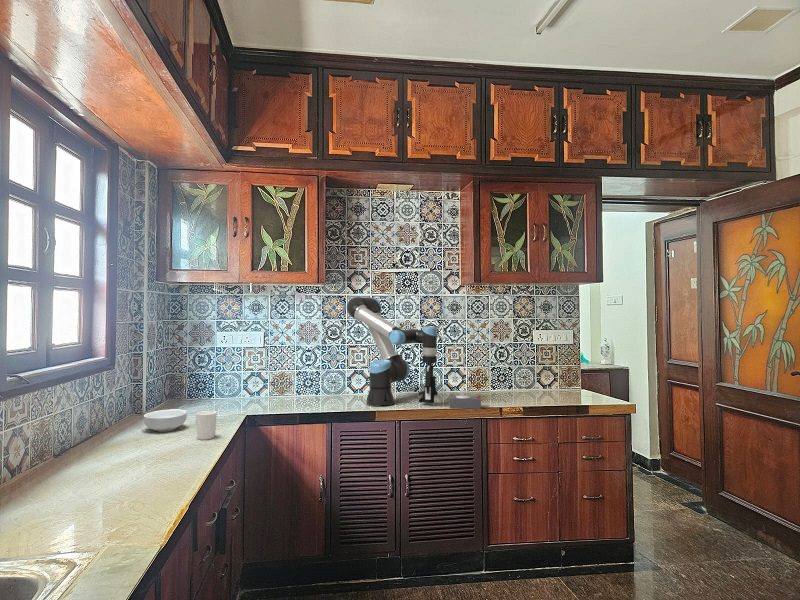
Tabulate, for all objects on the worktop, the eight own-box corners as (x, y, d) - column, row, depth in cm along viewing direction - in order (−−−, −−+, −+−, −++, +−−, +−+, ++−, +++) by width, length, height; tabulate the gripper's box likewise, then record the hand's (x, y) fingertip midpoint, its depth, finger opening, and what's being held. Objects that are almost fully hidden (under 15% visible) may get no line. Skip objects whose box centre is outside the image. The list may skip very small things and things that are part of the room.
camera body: (449, 407, 257) (449, 396, 257) (450, 405, 265) (450, 394, 265) (480, 409, 254) (480, 397, 254) (481, 406, 262) (481, 395, 262)
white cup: (198, 441, 193) (198, 415, 194) (193, 437, 200) (193, 412, 200) (219, 438, 198) (219, 413, 198) (213, 434, 204) (213, 409, 205)
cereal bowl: (135, 430, 210) (135, 414, 210) (172, 423, 224) (172, 407, 224) (157, 436, 201) (158, 419, 201) (194, 428, 215) (194, 412, 215)
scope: (423, 375, 271) (440, 376, 267) (422, 400, 271) (439, 402, 266) (417, 376, 264) (435, 377, 260) (417, 402, 263) (434, 404, 259)
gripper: (434, 357, 254) (433, 401, 254) (438, 353, 274) (438, 394, 274) (419, 357, 255) (419, 401, 255) (425, 353, 276) (424, 393, 275)
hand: (429, 397), depth 265 cm, fingers closed on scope, 8 cm apart
